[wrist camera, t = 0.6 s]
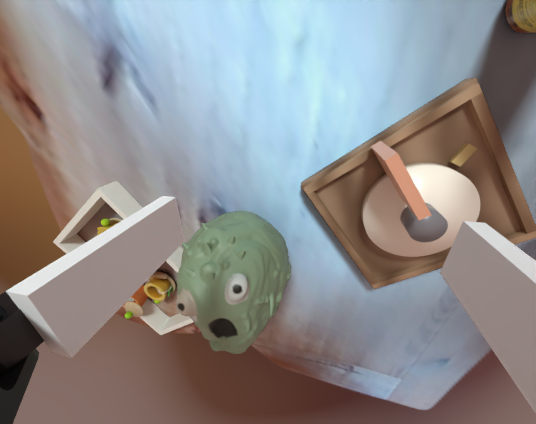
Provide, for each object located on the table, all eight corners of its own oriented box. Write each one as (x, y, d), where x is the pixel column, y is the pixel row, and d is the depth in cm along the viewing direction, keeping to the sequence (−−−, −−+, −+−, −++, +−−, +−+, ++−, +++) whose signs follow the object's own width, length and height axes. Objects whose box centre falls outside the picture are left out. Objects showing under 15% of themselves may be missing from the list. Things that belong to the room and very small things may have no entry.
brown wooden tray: (465, 79, 25) (482, 76, 22) (525, 225, 30) (545, 237, 27) (301, 182, 34) (299, 189, 32) (369, 278, 40) (373, 291, 37)
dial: (486, 224, 29) (538, 263, 22) (386, 260, 34) (402, 301, 27) (430, 107, 24) (473, 110, 18) (327, 170, 30) (328, 192, 23)
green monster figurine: (227, 272, 47) (171, 374, 30) (205, 190, 39) (109, 264, 21) (300, 276, 43) (285, 397, 26) (293, 186, 35) (264, 272, 17)
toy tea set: (102, 209, 46) (54, 234, 38) (168, 222, 44) (131, 251, 35) (132, 295, 59) (100, 328, 50) (184, 309, 56) (160, 346, 48)
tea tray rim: (116, 180, 42) (98, 188, 39) (228, 296, 50) (221, 311, 47) (70, 232, 52) (52, 241, 49) (169, 321, 60) (160, 335, 57)
